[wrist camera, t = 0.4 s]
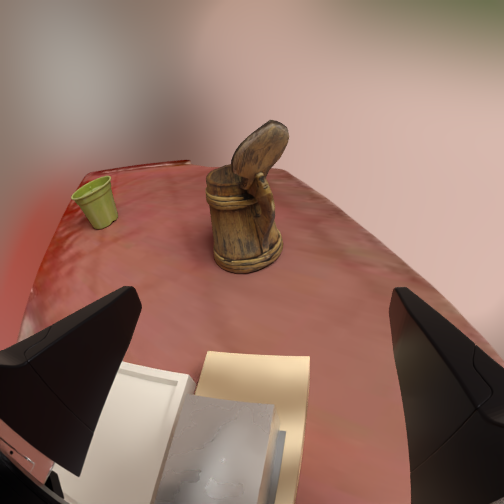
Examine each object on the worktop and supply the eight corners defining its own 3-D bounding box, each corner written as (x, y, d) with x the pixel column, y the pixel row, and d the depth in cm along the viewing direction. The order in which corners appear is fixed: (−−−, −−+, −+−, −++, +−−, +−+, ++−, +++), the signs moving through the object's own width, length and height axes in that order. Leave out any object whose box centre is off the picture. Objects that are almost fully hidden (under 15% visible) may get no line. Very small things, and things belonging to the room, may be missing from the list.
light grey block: (257, 545, 9) (244, 558, 6) (178, 527, 10) (146, 529, 7) (280, 423, 15) (274, 404, 13) (207, 414, 17) (186, 393, 14)
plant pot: (90, 220, 56) (76, 188, 51) (126, 205, 58) (112, 171, 53) (85, 240, 49) (66, 204, 44) (124, 223, 51) (108, 185, 46)
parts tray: (150, 546, 10) (137, 548, 9) (35, 475, 14) (22, 470, 12) (196, 384, 23) (188, 374, 22) (84, 357, 27) (75, 348, 25)
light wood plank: (275, 590, 7) (267, 608, 4) (170, 567, 9) (142, 575, 6) (309, 378, 22) (309, 354, 19) (220, 372, 24) (206, 349, 21)
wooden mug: (261, 307, 29) (221, 135, 18) (204, 251, 39) (164, 126, 28) (321, 266, 32) (311, 109, 21) (255, 224, 42) (231, 104, 31)
